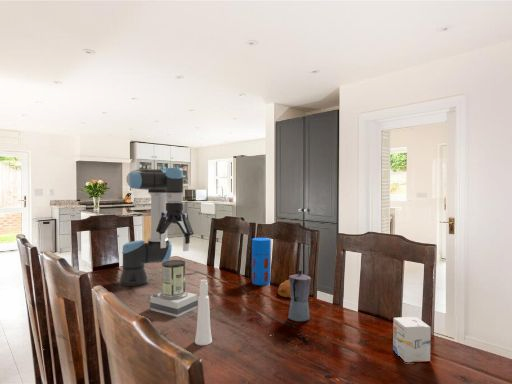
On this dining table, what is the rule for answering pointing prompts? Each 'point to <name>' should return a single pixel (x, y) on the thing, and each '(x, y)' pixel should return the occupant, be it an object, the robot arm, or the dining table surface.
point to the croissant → (285, 289)
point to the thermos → (261, 261)
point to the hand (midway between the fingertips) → (174, 249)
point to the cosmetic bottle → (203, 316)
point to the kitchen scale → (173, 304)
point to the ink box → (411, 339)
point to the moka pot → (299, 297)
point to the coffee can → (173, 278)
